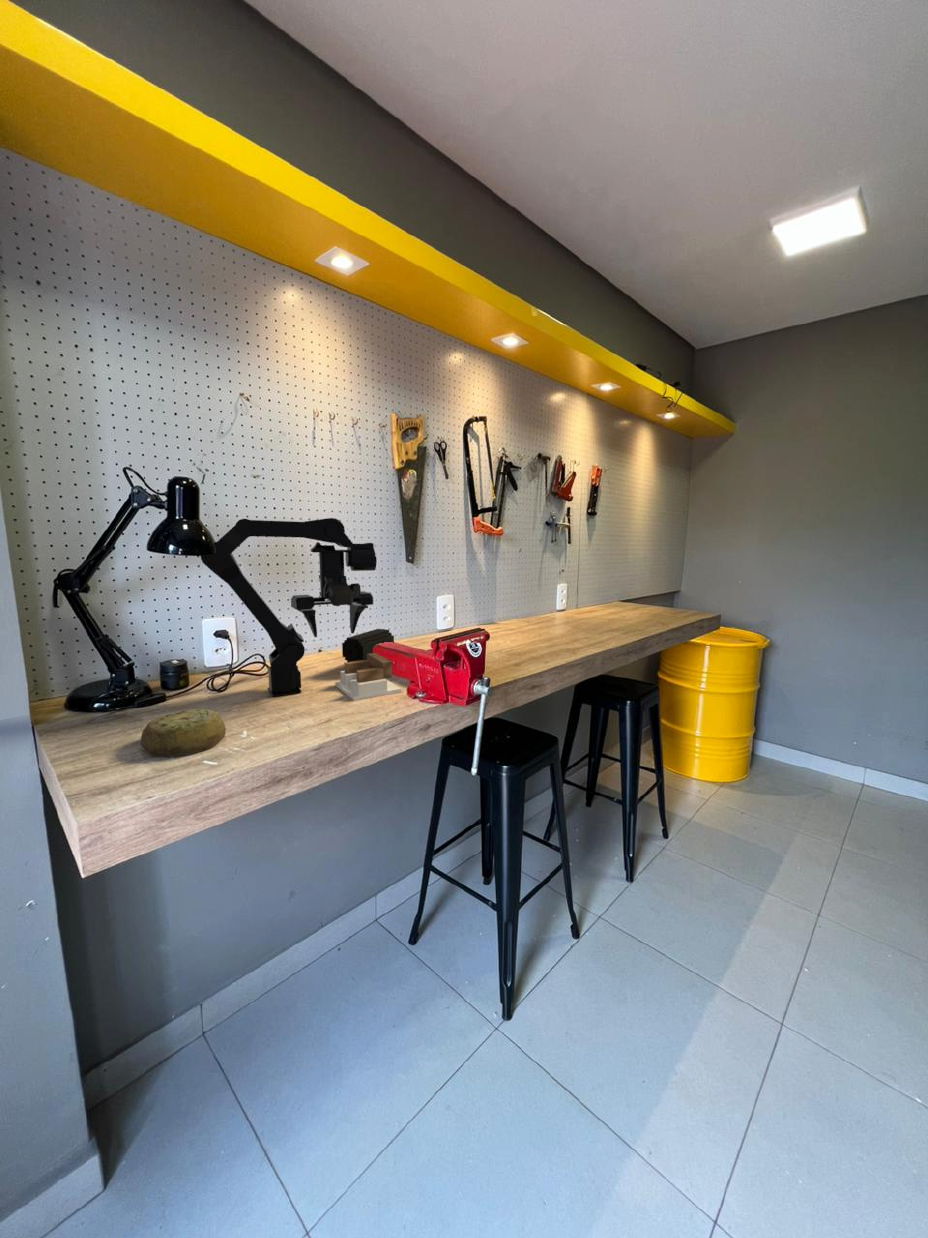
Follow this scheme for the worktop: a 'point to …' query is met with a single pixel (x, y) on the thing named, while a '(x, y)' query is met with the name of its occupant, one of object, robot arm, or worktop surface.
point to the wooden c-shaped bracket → (370, 668)
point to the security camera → (364, 644)
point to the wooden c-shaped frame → (365, 687)
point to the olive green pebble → (183, 732)
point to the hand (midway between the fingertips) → (334, 635)
